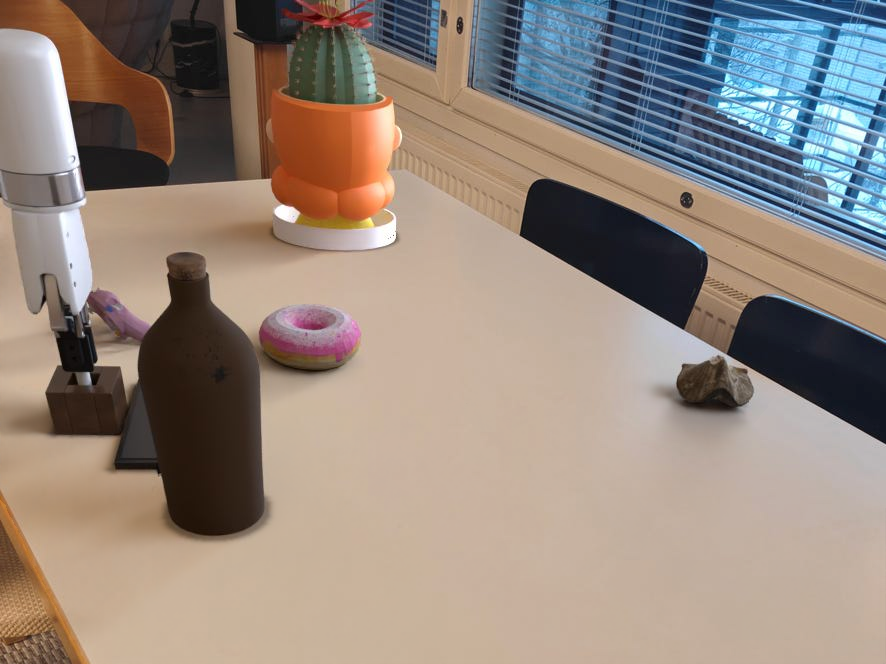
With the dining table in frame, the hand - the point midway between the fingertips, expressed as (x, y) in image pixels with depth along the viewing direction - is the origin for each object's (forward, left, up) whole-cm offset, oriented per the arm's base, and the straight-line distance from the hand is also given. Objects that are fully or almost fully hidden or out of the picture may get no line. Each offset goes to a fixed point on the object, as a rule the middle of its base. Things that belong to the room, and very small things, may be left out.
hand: (80, 365), depth 98 cm
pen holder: (0, 0, -7) cm, 7 cm away
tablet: (+10, -1, -7) cm, 12 cm away
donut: (+25, +19, -7) cm, 32 cm away
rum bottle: (+15, -19, -7) cm, 25 cm away
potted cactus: (+30, +67, -7) cm, 74 cm away
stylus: (0, 0, -7) cm, 7 cm away
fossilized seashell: (+78, +7, -7) cm, 79 cm away
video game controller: (0, +24, -7) cm, 25 cm away
